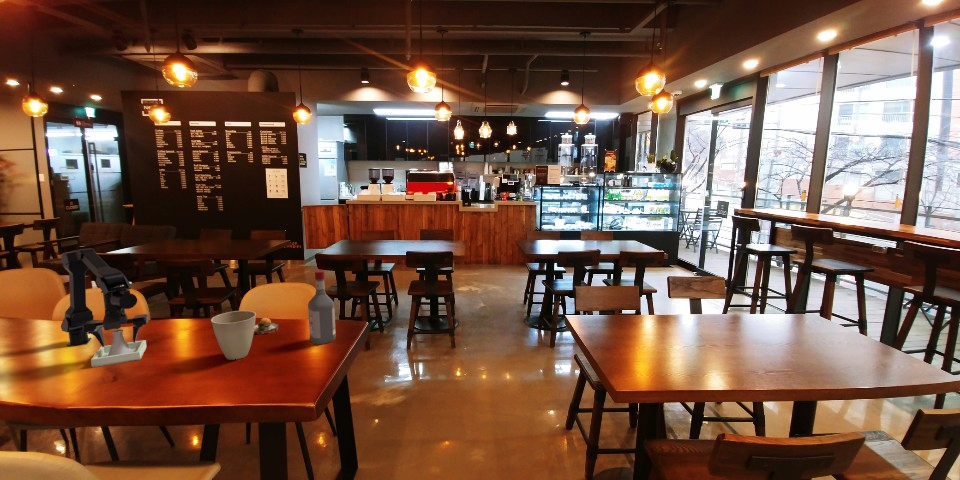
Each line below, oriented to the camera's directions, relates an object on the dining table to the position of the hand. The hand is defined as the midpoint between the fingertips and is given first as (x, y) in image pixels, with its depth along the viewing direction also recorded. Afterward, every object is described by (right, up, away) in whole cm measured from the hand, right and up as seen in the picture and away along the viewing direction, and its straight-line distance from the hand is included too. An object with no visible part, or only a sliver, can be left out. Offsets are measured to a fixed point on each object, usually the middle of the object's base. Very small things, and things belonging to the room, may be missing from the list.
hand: (119, 344), depth 165 cm
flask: (0, -5, +1) cm, 5 cm away
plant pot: (+44, -5, +2) cm, 45 cm away
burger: (+40, -1, +31) cm, 51 cm away
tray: (0, -5, +1) cm, 5 cm away
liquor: (+72, -3, +18) cm, 74 cm away
